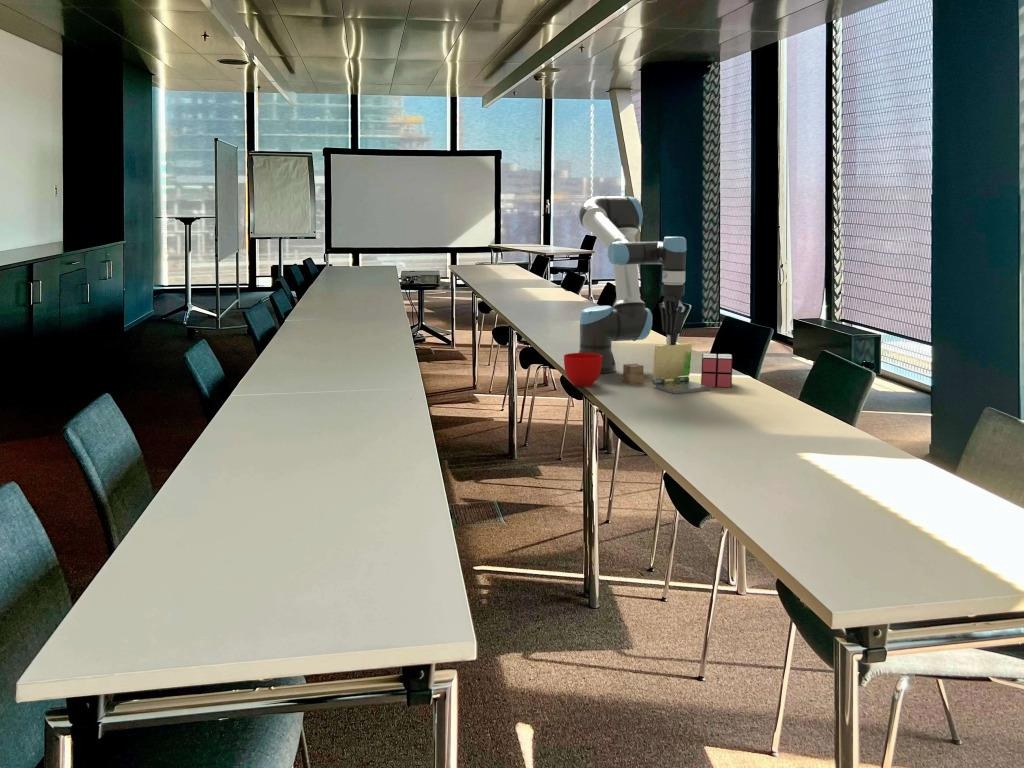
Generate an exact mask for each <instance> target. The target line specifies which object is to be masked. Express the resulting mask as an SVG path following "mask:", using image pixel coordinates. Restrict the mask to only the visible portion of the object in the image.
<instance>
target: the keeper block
mask: <svg viewBox="0 0 1024 768" xmlns="http://www.w3.org/2000/svg"><path fill="white" fill-rule="evenodd" d="M622 367H623V369H622V371H623V372H622V382H623V383H626V384H629V385H633V384H643V383H644V368H645V367H644V365H643V364H639V363H624V364H623V365H622Z"/></svg>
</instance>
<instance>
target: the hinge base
mask: <svg viewBox="0 0 1024 768" xmlns="http://www.w3.org/2000/svg"><path fill="white" fill-rule="evenodd" d="M678 378H679V382H676V383H664V379H663V378H656V379H654V378H652V382H651V383H652V385H654V386H655V387H654V388H655V389H658V390H661V391H664V392H668V393H671V394H674V395H675V394H685V393H697V392H706V391H707V392H708V391H711V387H709V386H705V385H702V384H701V383H697V382H694V381H690V377H689V376H679V377H678Z"/></svg>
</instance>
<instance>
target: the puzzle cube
mask: <svg viewBox="0 0 1024 768" xmlns="http://www.w3.org/2000/svg"><path fill="white" fill-rule="evenodd" d="M700 384H702V385H705V386H709V387H710V388H719V389H721V388H722V389H731V388H732V384H733V355H732V354H730V353H718V354H717V353H702V354H701V376H700Z"/></svg>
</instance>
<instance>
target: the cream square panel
mask: <svg viewBox="0 0 1024 768" xmlns="http://www.w3.org/2000/svg"><path fill="white" fill-rule="evenodd" d="M692 347H693V343H691V342H689V343H676V345H667V344H659V345H654V355H653V370H652V371H653V372H652V379H662V378H663V379H664V383H676V382H679V378H678V377H685V376H688V377H689V376H690V375H691V374H690V373H691V360H692V359H691V358H692Z"/></svg>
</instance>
